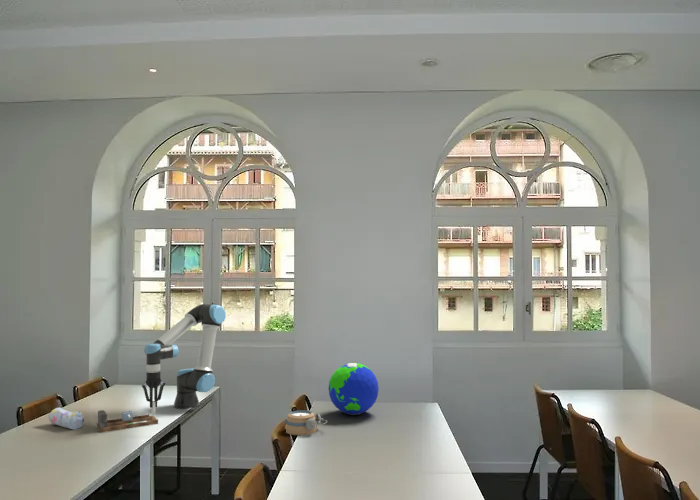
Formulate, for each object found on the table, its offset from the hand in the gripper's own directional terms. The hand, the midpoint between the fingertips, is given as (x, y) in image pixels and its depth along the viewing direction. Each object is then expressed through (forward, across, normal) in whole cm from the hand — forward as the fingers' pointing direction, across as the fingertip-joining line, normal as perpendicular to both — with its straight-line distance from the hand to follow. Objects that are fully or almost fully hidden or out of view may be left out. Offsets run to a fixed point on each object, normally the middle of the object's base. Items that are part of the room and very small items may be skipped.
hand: (153, 413), depth 320 cm
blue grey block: (+3, +14, +2) cm, 15 cm away
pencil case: (+5, +43, -17) cm, 46 cm away
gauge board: (+5, +14, 0) cm, 15 cm away
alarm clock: (+5, -64, +64) cm, 91 cm away
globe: (+5, -103, +50) cm, 115 cm away
